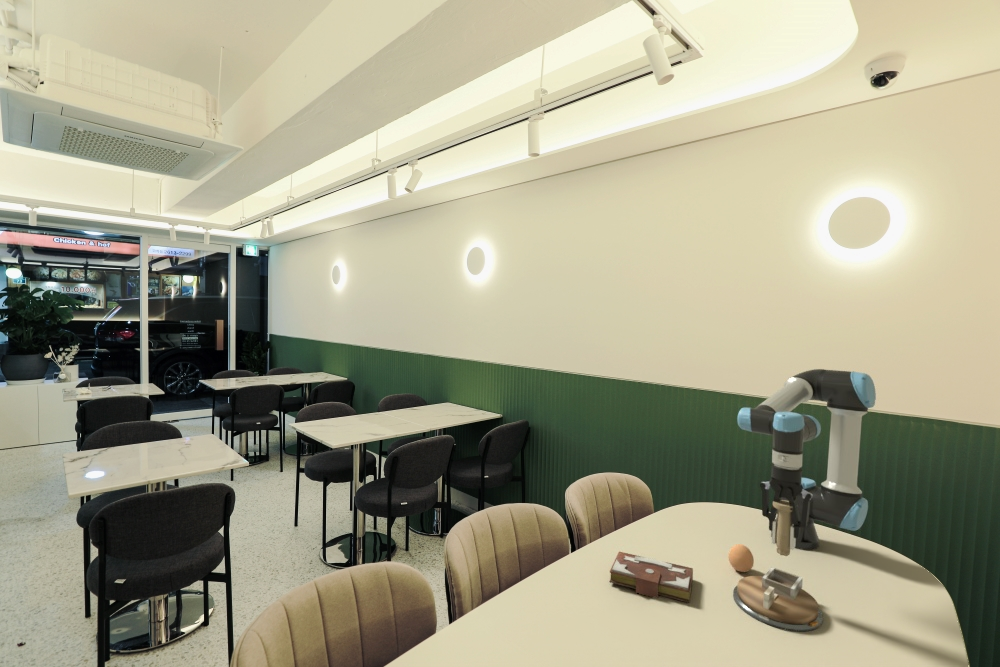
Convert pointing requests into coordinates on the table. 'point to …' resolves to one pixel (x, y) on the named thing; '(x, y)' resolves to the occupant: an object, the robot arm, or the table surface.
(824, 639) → the table surface
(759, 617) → the base
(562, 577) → the table surface
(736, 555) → the egg
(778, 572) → the dial
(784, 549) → the handle
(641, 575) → the book
